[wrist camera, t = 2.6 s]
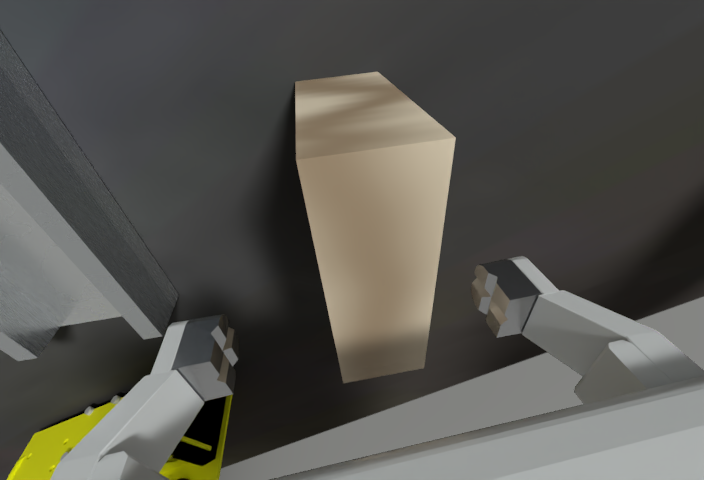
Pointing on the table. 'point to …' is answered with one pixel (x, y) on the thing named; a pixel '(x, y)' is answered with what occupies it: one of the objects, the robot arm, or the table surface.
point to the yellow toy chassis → (183, 469)
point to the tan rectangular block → (373, 215)
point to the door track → (63, 231)
